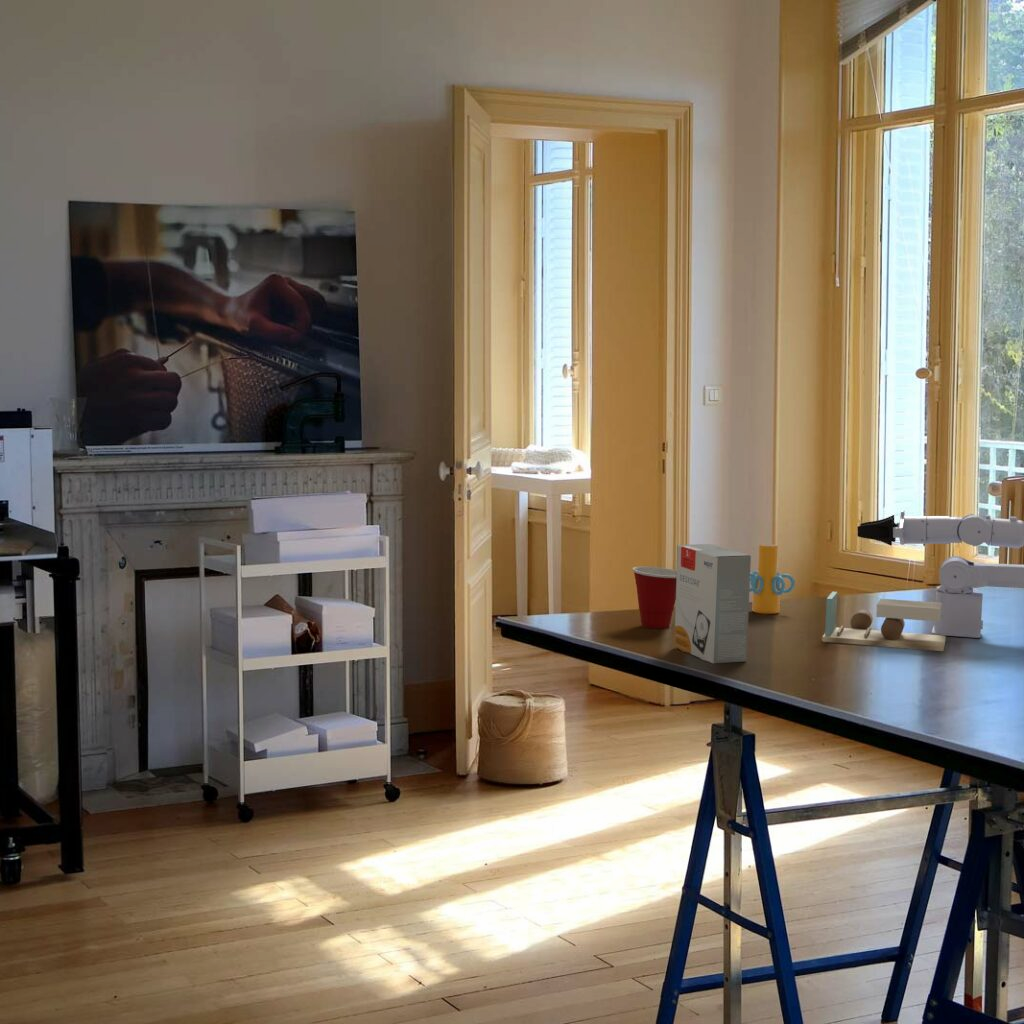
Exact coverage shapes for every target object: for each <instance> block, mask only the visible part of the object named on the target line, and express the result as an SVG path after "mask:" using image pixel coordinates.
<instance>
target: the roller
mask: <svg viewBox="0 0 1024 1024" xmlns="http://www.w3.org/2000/svg"><path fill="white" fill-rule="evenodd" d="M873 620H874V618H873V614H872V613H871V612H870V611H869V610H867V609H862V608H861V609H859V610H857V611H856V612H854V614H853V615H852V617H851V618H850V623H849V625H850V628H851V629H864V630H867V629H868V628H871V625H872V623H873Z"/></svg>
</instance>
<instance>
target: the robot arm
mask: <svg viewBox="0 0 1024 1024" xmlns="http://www.w3.org/2000/svg"><path fill="white" fill-rule="evenodd" d="M905 514H906V513H905V510H901V511H900V516H899V522H897V523H896V522H895V515H894V514H892V515H891V516H888V517H886V518H881V519H878V520H873V521H867V522H866V521H865V522H861V523H860V524H859V525H858V526H857V537H858V538H862V539H868V540H872V541H873V540H874V541H877V542H881V543H884V544H886V545H888V546H891V547H892V545H893V543H895V542H896V541H897V539H898V538H899V544H900V545H903V546H904V545H910V544H911V545H913V544H914V545H915V544H917V545H919V544H921V545H950V544H962V543H965V544H967V545H968V546H969V545H970V546H972V547H977V546H980V545H982V544H986V546H988V547H989V546H990V547H1000V548H1001V547H1002V548H1008V549H1009V548H1010V549H1021V548H1023V547H1024V521H1023V520H1019V519H1018V518H1017V516H1009V519H1008V518H1000V517H999V518H998V517H991V515H990V514H985V515H984V518H982V517H981V516H979V515H975V514H973V513H972V514H971V513H970V514H967V515H965V516H963V517H962V516H949V515H932V516H931V515H915V516H913V515H908V516H907V515H905ZM896 538H897V539H896ZM938 578H939V579H938V580H939V583H940V585H939V586H938V585H937V586H936V588H935V589H936V591H935V592H936V593H935V602H936V603H942V615H941V619H940V622H938V621H934V626H932V630H931V635H942V636H946V637H947V636H948V637H961V638H974V639H980V638H981V630H983V627H984V620H982V617H983V616H982V612H983V598H984V597H983V595H984V594H983V593H982V592H974V589H979V588H985V587H988V588H989V587H993V588H1012V589H1014V588H1015V589H1024V564H1015V563H1013V564H1011V563H1010V564H1009V563H990V562H989V563H986V562H984V561H983V562H982V561H976V560H975V561H974V560H973V561H972V560H968V559H966V558H964V557H962V556H958V555H953V556H949V557H948V558H946V559H944V560H943V562H941V564H940V568H939V574H938Z"/></svg>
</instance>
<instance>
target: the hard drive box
mask: <svg viewBox="0 0 1024 1024" xmlns="http://www.w3.org/2000/svg"><path fill="white" fill-rule="evenodd" d="M676 546H677V547H676V548H677V550H676V555H677V556H676V571H677V575H676V600H675V605H674V610H675V611H674V633H673V634H674V636H673V638H674V640H673V641H674V642H673V646H674V648H676V649H678V650H680V651H681V652H683V653H687V654H689V655H692V656H695V657H697V658H699V659H700V660H702V661H706V662H708V663H710V664H725V663H741V662H742V663H743V662H747V658H748V656H747V655H748V639H749V638H748V635H749V634H748V632H749V610H750V592H749V589H750V588H751V584H750V573H751V565H752V564H751V559H752V556H751V555H750V554H747V553H743V552H740V551H738V550H737V551H736V550H733V549H729V548H726V547H721V546H718V545H716V544H710V543H707V544H706V543H703V544H677V545H676Z"/></svg>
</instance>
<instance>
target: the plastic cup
mask: <svg viewBox="0 0 1024 1024" xmlns="http://www.w3.org/2000/svg"><path fill="white" fill-rule="evenodd" d="M632 572H633V573H634V574H633V575H634V579H635V586H636V592H637V603H638V611H639V615H640V623H641V626H642V627H643V628H646V629H657V628H664V629H668V628H670V625H671V622H672V617H673V612H674V610H675V604H676V575H677V569H676V570H675V569H670V568H665V567H656V566H646V565H645V566H634V567H632ZM667 627H668V628H667Z"/></svg>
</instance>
